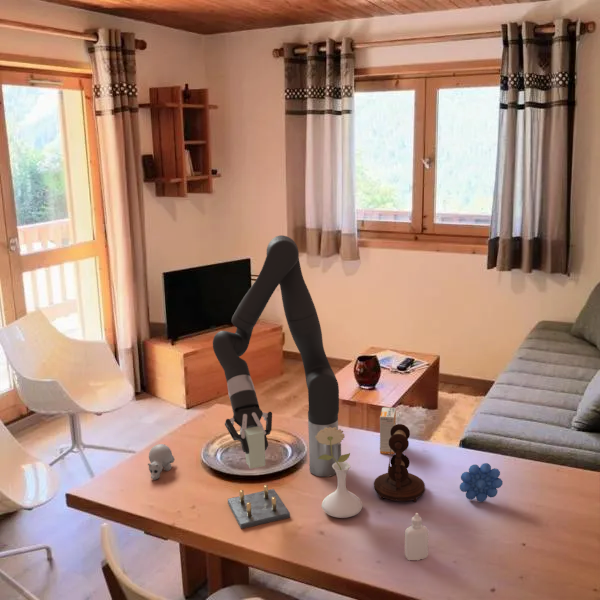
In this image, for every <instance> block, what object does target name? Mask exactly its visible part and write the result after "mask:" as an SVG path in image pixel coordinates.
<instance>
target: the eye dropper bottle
mask: <svg viewBox="0 0 600 600" xmlns="http://www.w3.org/2000/svg"><path fill="white" fill-rule="evenodd" d="M422 519H423V518H422V517H421V516H420V515H419V513H418V512H415V514H414V516H412V517H411V525H409V526H408V527H407V528H405V531H404V557H405V558H406V559H407V561H410V560H417V561H421V560H420V559H422V560H424V559H426V558H427V557H428V555H429V530H428V528H427V526H425V525H423V524H422V523H423V522H422Z"/></svg>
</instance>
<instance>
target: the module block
mask: <svg viewBox="0 0 600 600" xmlns="http://www.w3.org/2000/svg"><path fill="white" fill-rule="evenodd" d="M245 435H246V437H245V438H246V439H247V443H248V447H249V453H248V454H246V453H245V452H244V454H245V455H244V456H245V463H246V464H247V466H248V468H249V470H252V469H257V468H261V467H266V450H265V440H264V431H263V430H262V429H261V428H260V427H258V426H257V427H251V428H246V429H245Z"/></svg>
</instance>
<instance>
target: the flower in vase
mask: <svg viewBox="0 0 600 600" xmlns="http://www.w3.org/2000/svg"><path fill="white" fill-rule="evenodd" d="M343 432H344V431H343V430H342V429H340V428H338V430H336V427H334V428H331V427H329V428H324V430H320V431H319V432H318V433H317V436H315V438H316V440H317V441H318V442H319V443H321V444H326V445H330V446H331V455H332V445H333V444H337V443H342V441H344V439H345V434H344V433H343ZM350 456H351V453H350V452H349V453H346V454H345V453H344V454H341V456H340V458H339V459H338V462H337V461H336V459H335V458H334V457H333V455H332V456H329V455H321V456H320V457H319V458H318V459H322V460H330V459H331V458H332V457H333V459H334V460H335V461H336V463H334V464H333V465H332V467H333V469H334V470H335V472H336V474H335V475H336V478H337V488H336V489H335V490H334V491H333V492H331V493H330V494H328V495H327V496H325V497H324V499H323V501H322V502H321V509H322V510H323V512H324V513H325V514H327V515H328V516H331V517H334V518H341V519H343V518H344V519H345V518H351V517H354V516H356V515H358V514H359V513H360V512H361V511H362V509H363V502H362V499H360V497H358V496H357V495H356V494H354V493H353V492H351V491H349V490H348V488H347V487H346V486H347V483H346V481H347V475H348V471H349V470H350V468H351V464H350V463H349V462H346V461H347V460H348V459H349V458H350Z"/></svg>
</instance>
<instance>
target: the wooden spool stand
mask: <svg viewBox="0 0 600 600" xmlns="http://www.w3.org/2000/svg"><path fill="white" fill-rule="evenodd" d="M390 434H391V437H390V439H389V446H390V454H389V456H390V457H389V460H388V467H387V472H385V473H382V474H380V475H378V476H377V477H376V478H375V479H374V481H373V490H374V492H375V493H376V494H377V495H379V498H380V500H383V499H387V500H391V501H398V502H406V501H413V502H414V503H416V501H417V499H418V498H420V497H421V496H422V495H423V494H424V493H425V491H426V489H425V488H426V484H425V481H424V480H423V479H422V478H421V477H419V476H417V475H415V474H413V473H411V472H409V470H408V468H409V467H410V459H409V457H408V456H407V454H404V452H406V450H407V449H408V448H409V444H410V443H409V438H410V435H411V431H410V428H409V427H408V426H406V425H405V424H402V423H397V424H396V425H394V426H393V427H392V428H391V431H390ZM391 449H392V450H393V451H394V454H391ZM391 455H392V456H391Z"/></svg>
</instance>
